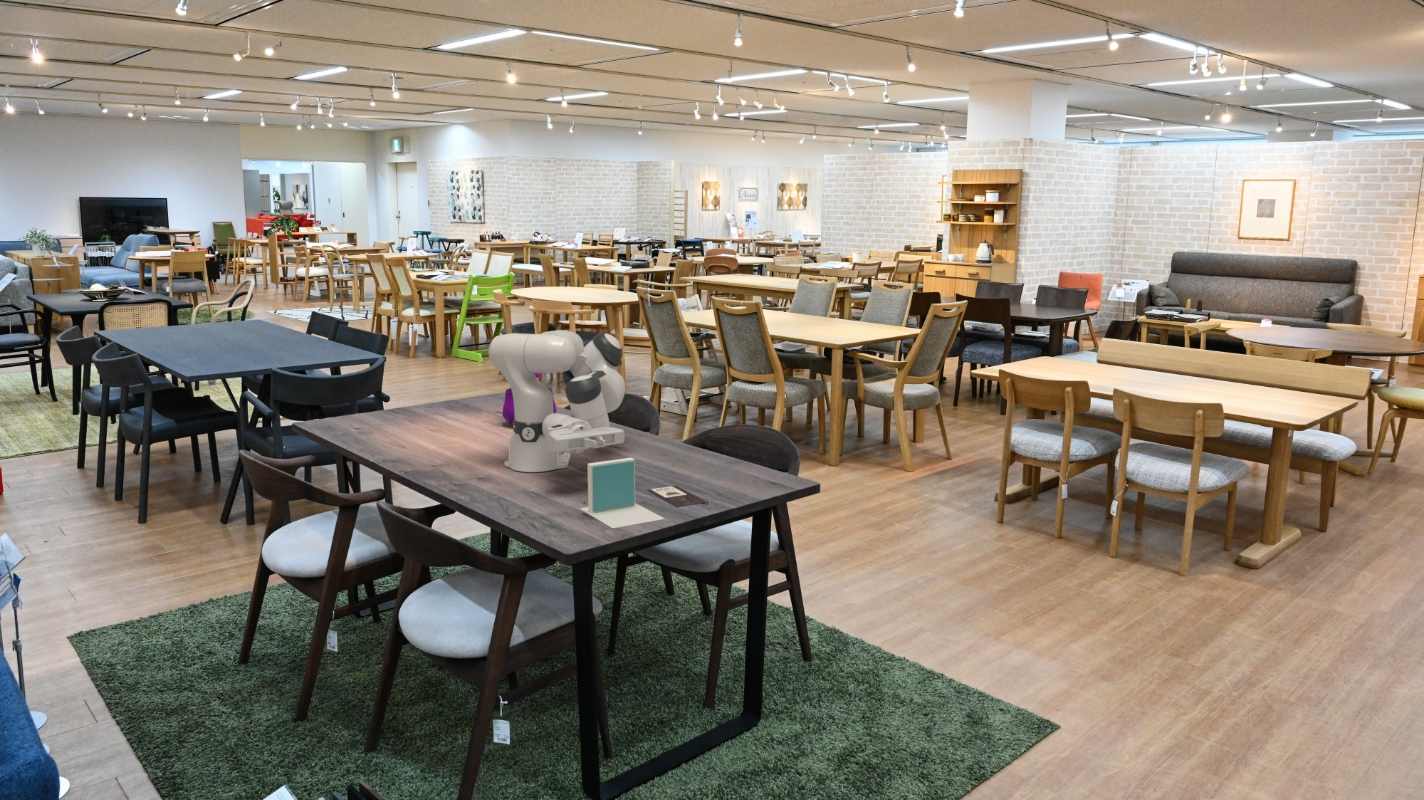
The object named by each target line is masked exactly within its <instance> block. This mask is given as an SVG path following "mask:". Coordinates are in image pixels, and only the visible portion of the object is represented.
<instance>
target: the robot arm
mask: <svg viewBox="0 0 1424 800" xmlns="http://www.w3.org/2000/svg"><path fill="white" fill-rule="evenodd" d="M622 357H623V346H622V344H621V343H620V341H619V340H618V339H617V338H616V337H615V336H613V335H611V334H610V333H608V332H599V333H597V334H596V335H595V336H593V337H592V340H590V341H589V342H588V343H587V344H586V345H584V341H583V339H582V338H581V336H580V335H579V334H578V333H576V332H574V331H571V330H567V329H565V330H564V329H557V330H549V331H544V332H542V333H516V332H514V333H505V334H499V335H497V336H495V337H494V338H492V340H491V341H490V343H489V346H488V358H489V360H490V362H491V364H492V365H493V367H494V368H495V369H497V370H498V371H499V372H500V373H501V374H502V375H503V376H504V378H505V379H506V381H507V383H508V385H509V388H511V390H512V393H513V400H514V411H515V419H514V421H513V423H512V427H513V432H514V433H513V435H512V436H510V437H509V440H508V441H509V442H508V460H506V461H504V465H503V466H505V467H507V468H510V469H511V470H513V471H517V472H524V473H537V472H538V473H541V472H549V471H553V470H558V469H566V468H568V466H569V463H570V461H571V457H572V456H571V452H573V453H583V452H585V451H587V450H588V449H599V448H605V447H606V446H613V445H619V444H623V443H624V442H625V431H624V429H622V428H617V427H612V426H611V423H610V419H609V415H608V414H609V413H612V412H613V411H615V410H617V409H618V408H619V407H620V405H621V404H622V402H623V400H624V397H625V393H626V383H625V379H624V378H623V376H622V375H621V374H620V373H619V372H618V371H617V369H618V367H619V366H622V365H623V361H622ZM534 373H542V374H556V373H561V375H562V379H563V382H564V384H565V385H566V386H565V388H564V392H565V394H566V395H565V396H566V398H567V400H568V405H569V407H570V412H571V415H569V414H565V413H558V412H557V413H553V398H554V394H553V395H552V393H553V392H552V393H551V391H550V389H549V388H550V387H549V388H548V386H546V385H544V384H543V383H542V382H541V383H540V382H539V381H538V380H539V379H538V378H536V376H535V374H534ZM537 379H538V380H537Z"/></svg>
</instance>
